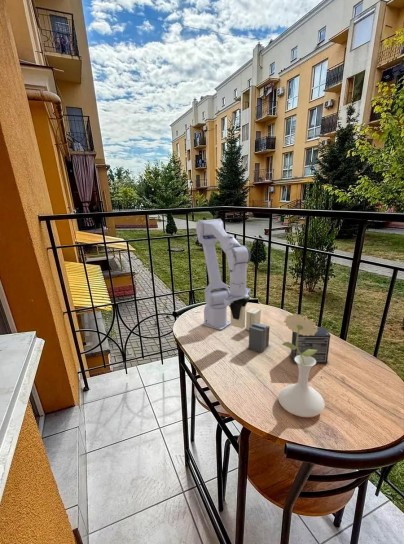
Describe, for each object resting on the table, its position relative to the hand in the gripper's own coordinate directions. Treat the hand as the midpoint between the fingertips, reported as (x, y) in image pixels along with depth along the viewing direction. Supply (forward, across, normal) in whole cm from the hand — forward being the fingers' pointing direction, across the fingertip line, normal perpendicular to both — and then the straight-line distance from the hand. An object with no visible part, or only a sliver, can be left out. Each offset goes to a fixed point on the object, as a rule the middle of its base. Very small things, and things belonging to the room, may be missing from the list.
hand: (237, 317), depth 102 cm
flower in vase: (+10, -19, -30) cm, 37 cm away
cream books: (+10, +14, +1) cm, 17 cm away
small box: (+10, +4, -25) cm, 28 cm away
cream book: (+3, 0, 0) cm, 3 cm away
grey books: (+10, +1, -8) cm, 13 cm away
